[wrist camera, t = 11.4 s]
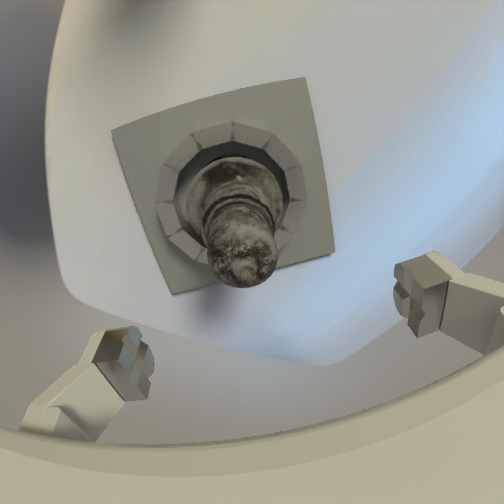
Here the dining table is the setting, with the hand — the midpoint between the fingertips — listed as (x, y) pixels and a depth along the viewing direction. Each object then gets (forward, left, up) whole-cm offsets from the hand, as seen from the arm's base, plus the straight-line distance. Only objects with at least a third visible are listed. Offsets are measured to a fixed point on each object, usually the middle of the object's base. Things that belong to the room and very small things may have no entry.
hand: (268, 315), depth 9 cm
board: (+1, 0, -15) cm, 15 cm away
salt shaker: (0, 0, -14) cm, 14 cm away
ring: (+1, 0, -14) cm, 14 cm away
